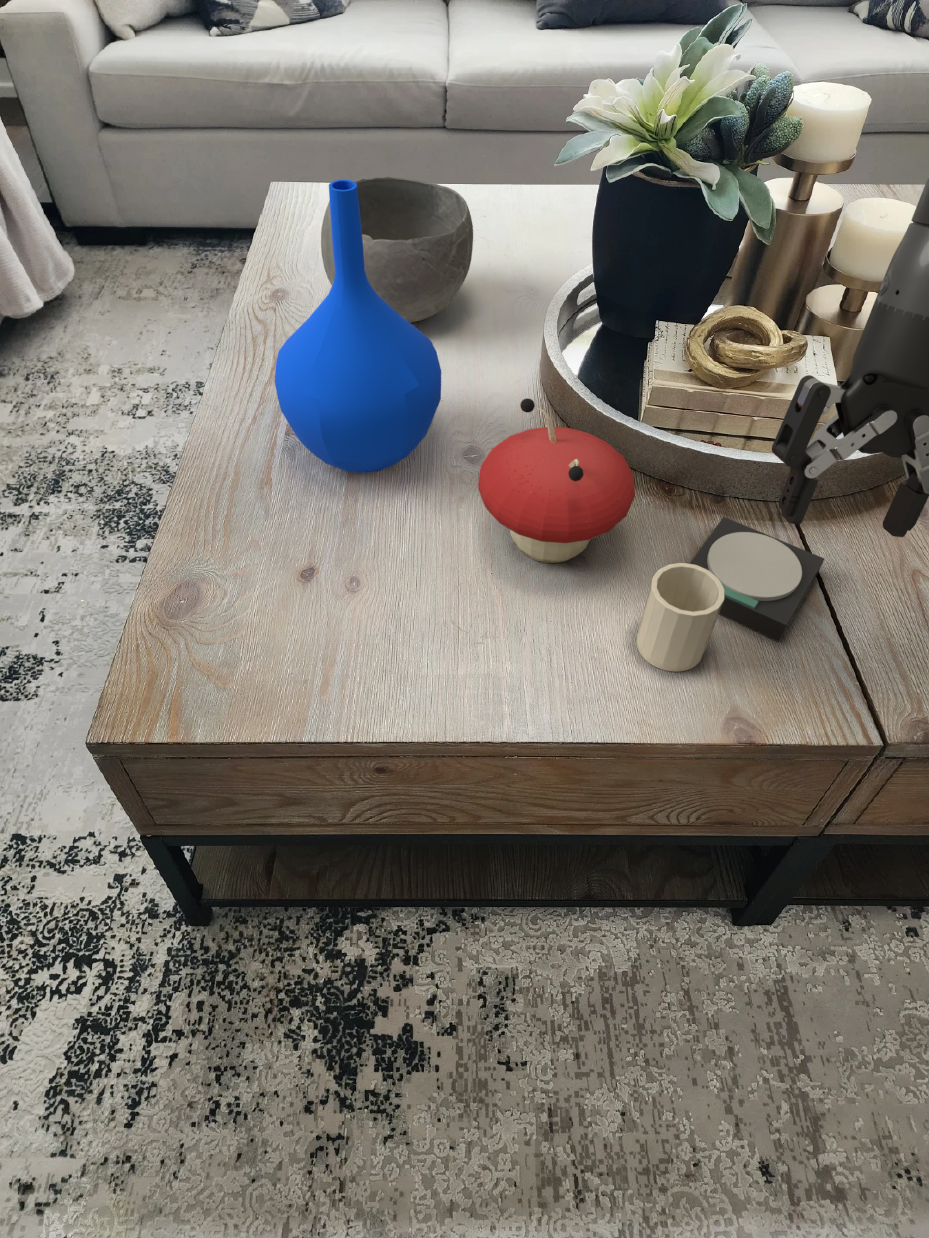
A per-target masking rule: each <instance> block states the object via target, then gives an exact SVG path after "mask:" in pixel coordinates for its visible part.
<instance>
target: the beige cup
mask: <svg viewBox="0 0 929 1238" xmlns="http://www.w3.org/2000/svg"><path fill="white" fill-rule="evenodd" d="M723 602H724V588H723V586H722V584H721V582H720V580H719V579H718V578H717V577H716V576H715V575H714V574H712V573H711V572H710V571H709V570H707V569H704V568H702V567H700V566H698V565H694V564H690V563H686V562H675V563H669V564H667V565H665V566H663V567H661V568H659V569H658V570H657V571H655V573H654V575H653V576H652V577H651V581H650V585H649V588H648V592H647V596H646V599H645V604H644V607H643V610H642V615H641V617H640V618H641V619H640V623H639V626H638V630H637V635H636V647H637V650H638V652H639V654H640V655H641V657H642V658H643V660H644V661H646V662H647V663H648V664H650V665H651V666H653V667H654V668H658V669H660V670H662V671H668V672H673V673H674V672H678V673H679V672H684V671H688V670H691V669H692V668H694V667H696V666H697V665H698V664H699V663H700V662H701V661H702V659H703V657H704V655H705V653H706V650H707V647H708V644H709V643H710V639H711V637H712V634H713V631H714V628H715V626H716V623H717V621H718V618H719V616H720V614H719V613H720V610H721V607H722V604H723Z"/></svg>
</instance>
